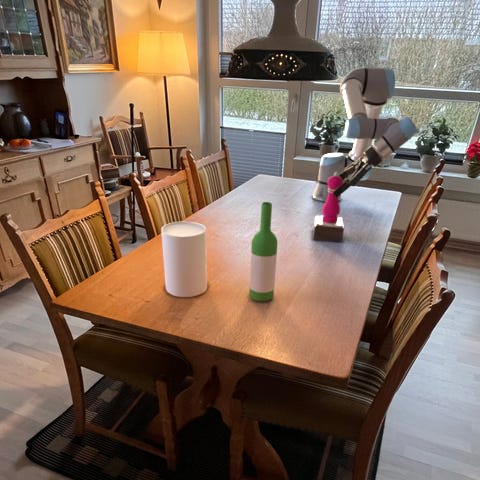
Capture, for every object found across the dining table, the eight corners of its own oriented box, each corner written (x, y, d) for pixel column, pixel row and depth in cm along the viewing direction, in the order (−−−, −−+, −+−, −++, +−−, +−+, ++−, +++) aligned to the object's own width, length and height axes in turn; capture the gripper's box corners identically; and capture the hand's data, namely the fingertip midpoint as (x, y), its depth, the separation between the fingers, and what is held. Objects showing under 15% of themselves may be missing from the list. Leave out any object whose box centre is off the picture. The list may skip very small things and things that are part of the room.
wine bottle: (244, 296, 132) (247, 202, 116) (260, 288, 136) (266, 197, 120) (261, 305, 127) (267, 209, 111) (278, 297, 132) (286, 203, 116)
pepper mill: (317, 218, 177) (324, 170, 167) (332, 217, 180) (339, 169, 169) (326, 224, 172) (333, 174, 161) (341, 222, 174) (349, 173, 163)
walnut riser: (313, 230, 185) (315, 215, 181) (340, 232, 184) (343, 217, 180) (313, 240, 175) (315, 224, 171) (341, 242, 174) (344, 226, 170)
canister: (212, 281, 140) (212, 224, 129) (198, 299, 129) (196, 239, 118) (175, 275, 143) (172, 219, 132) (158, 293, 132) (153, 233, 121)
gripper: (390, 167, 151) (342, 206, 160) (376, 154, 172) (334, 189, 181) (378, 151, 148) (330, 191, 157) (365, 140, 169) (324, 176, 178)
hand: (332, 190), depth 169 cm, fingers open, 13 cm apart
